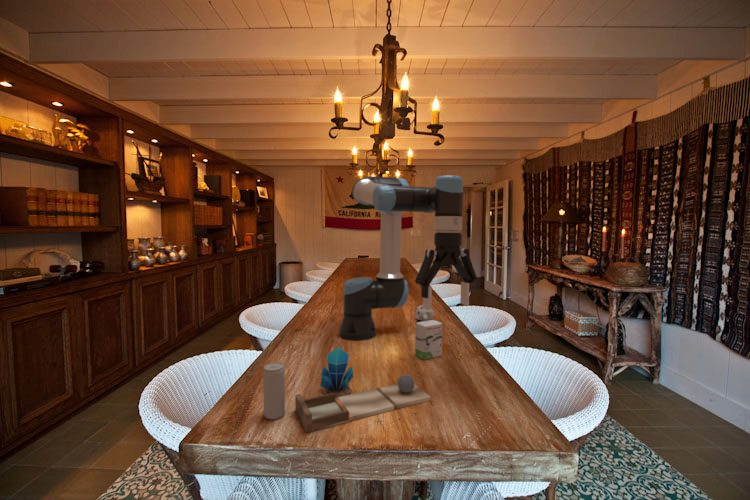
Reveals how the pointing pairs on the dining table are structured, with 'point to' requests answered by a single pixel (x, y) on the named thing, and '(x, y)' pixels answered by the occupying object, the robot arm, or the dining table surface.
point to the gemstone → (337, 374)
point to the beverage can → (274, 390)
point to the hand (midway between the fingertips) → (446, 307)
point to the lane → (353, 406)
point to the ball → (406, 383)
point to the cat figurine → (424, 314)
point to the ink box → (428, 339)
